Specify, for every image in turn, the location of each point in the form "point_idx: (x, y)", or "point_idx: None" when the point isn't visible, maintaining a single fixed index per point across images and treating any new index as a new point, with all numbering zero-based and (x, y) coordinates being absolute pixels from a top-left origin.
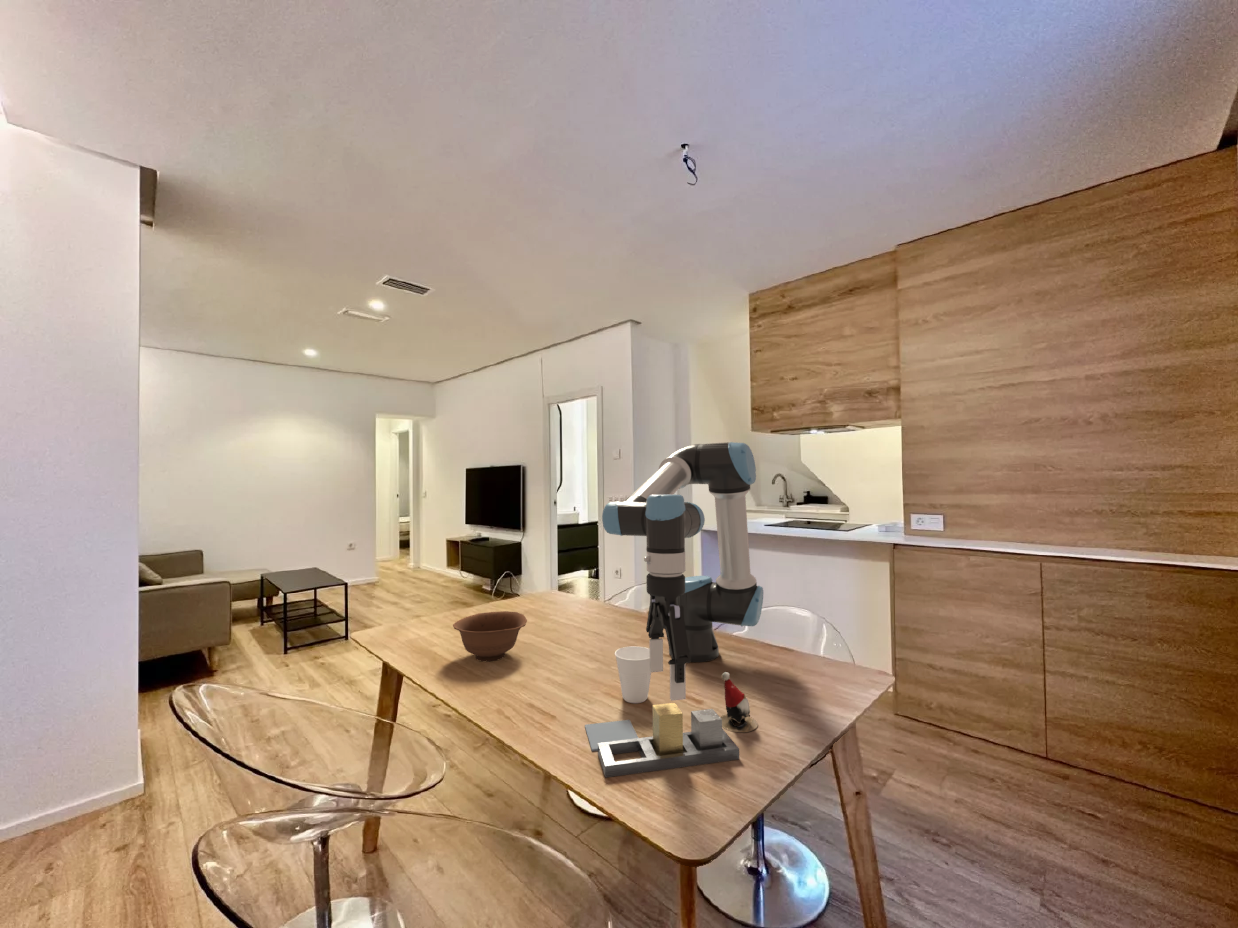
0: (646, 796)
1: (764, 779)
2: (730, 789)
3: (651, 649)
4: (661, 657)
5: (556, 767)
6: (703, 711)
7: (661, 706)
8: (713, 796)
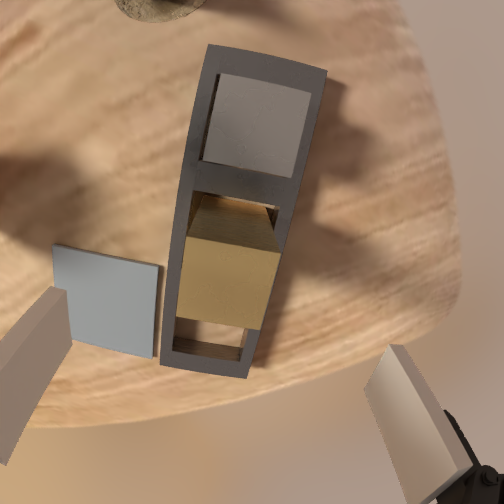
0: (330, 325)
1: (403, 86)
2: (397, 173)
3: (24, 420)
4: (31, 340)
5: (186, 408)
6: (225, 117)
7: (198, 295)
8: (395, 218)
